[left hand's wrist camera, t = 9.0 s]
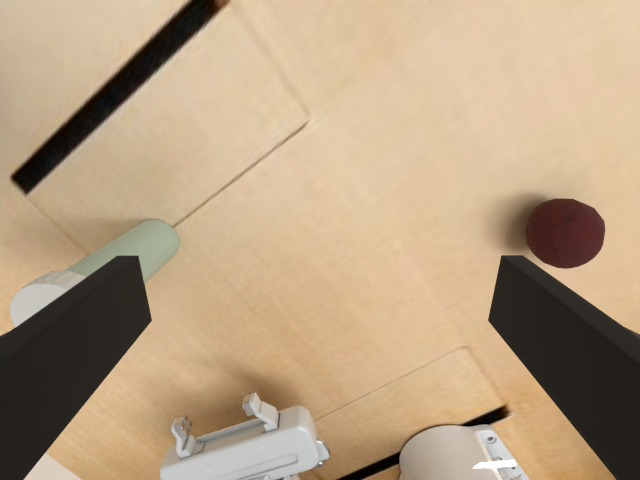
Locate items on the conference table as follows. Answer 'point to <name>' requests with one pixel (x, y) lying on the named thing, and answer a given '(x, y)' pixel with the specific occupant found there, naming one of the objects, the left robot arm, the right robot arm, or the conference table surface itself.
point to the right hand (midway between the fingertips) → (212, 409)
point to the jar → (135, 249)
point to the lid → (41, 294)
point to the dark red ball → (565, 233)
